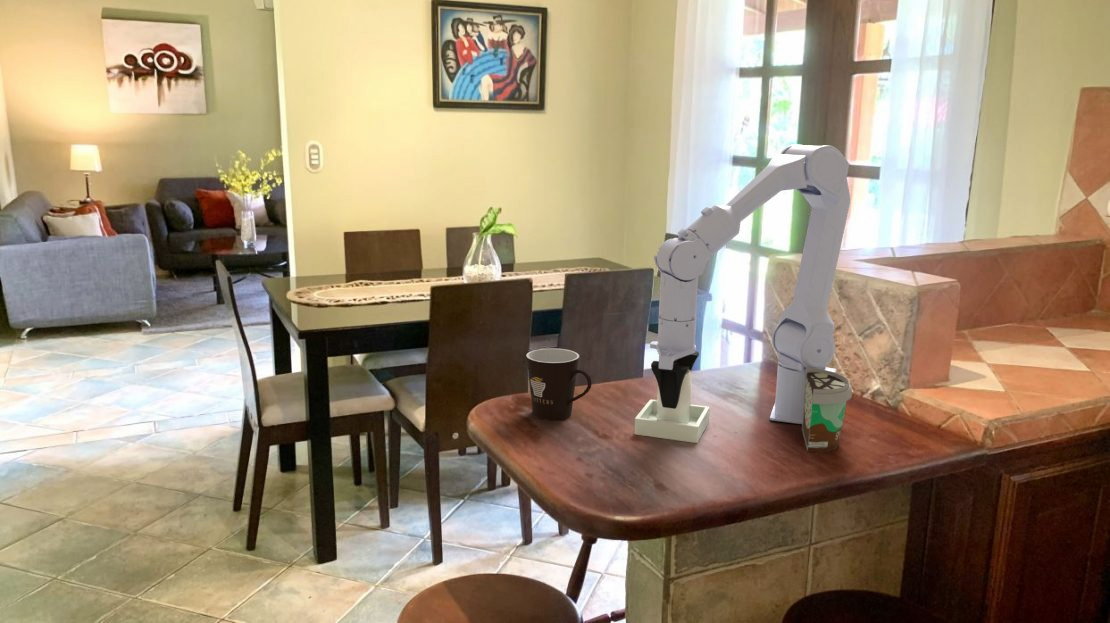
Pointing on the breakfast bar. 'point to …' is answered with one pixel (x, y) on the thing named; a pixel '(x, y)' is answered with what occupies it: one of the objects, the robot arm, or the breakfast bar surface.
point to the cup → (683, 406)
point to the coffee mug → (553, 382)
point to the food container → (824, 409)
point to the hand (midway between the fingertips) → (673, 401)
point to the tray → (672, 424)
